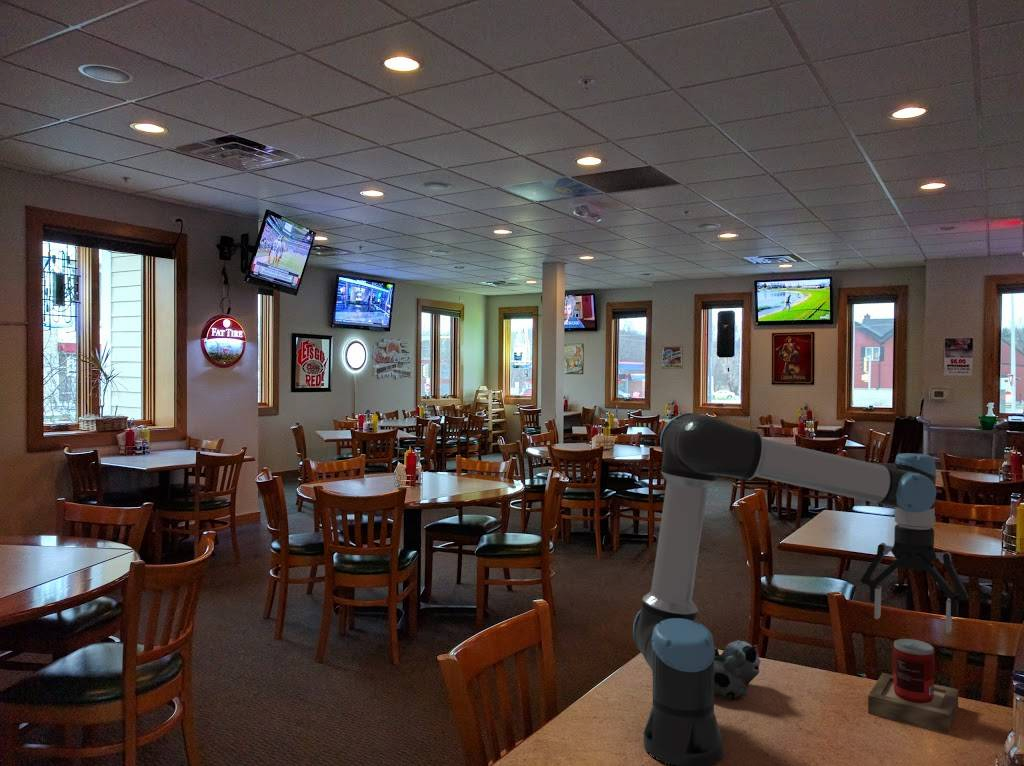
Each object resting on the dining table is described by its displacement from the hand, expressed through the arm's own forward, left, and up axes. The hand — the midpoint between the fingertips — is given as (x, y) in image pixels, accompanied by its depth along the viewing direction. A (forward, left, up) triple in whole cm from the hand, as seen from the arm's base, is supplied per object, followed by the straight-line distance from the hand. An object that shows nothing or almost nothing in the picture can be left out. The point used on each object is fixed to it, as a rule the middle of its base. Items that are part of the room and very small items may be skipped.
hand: (912, 624), depth 159 cm
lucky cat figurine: (-36, -14, -19) cm, 43 cm away
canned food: (0, 0, -16) cm, 16 cm away
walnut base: (0, 0, -19) cm, 19 cm away
